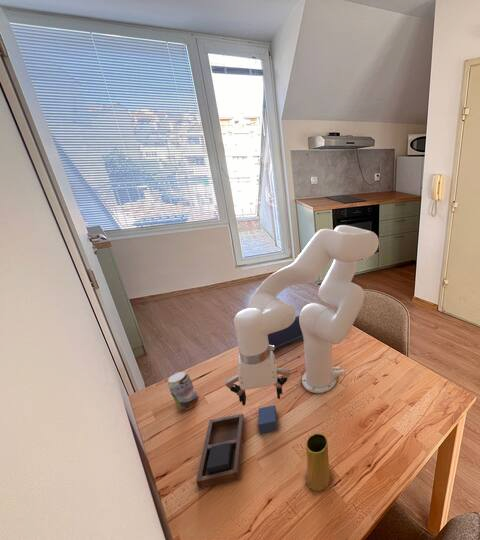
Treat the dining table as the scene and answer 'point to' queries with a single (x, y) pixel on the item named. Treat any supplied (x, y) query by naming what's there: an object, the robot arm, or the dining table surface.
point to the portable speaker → (286, 335)
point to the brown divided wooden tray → (217, 435)
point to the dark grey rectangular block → (220, 458)
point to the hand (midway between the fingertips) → (261, 398)
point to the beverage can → (182, 390)
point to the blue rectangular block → (267, 419)
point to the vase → (317, 462)
